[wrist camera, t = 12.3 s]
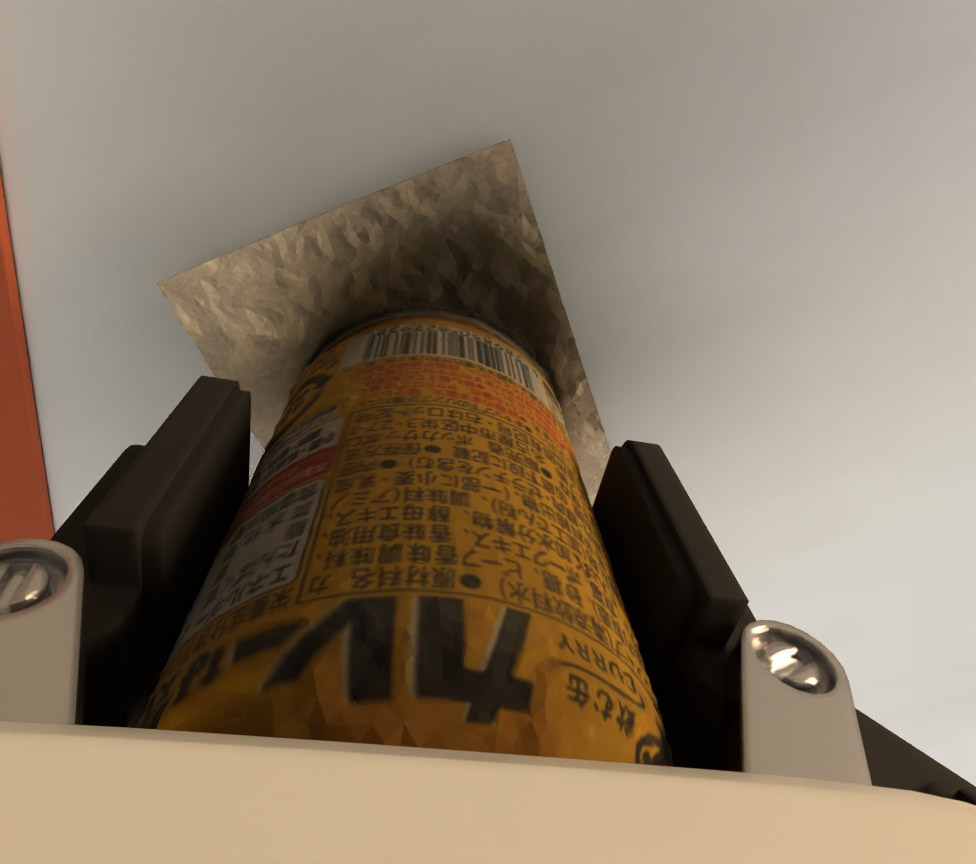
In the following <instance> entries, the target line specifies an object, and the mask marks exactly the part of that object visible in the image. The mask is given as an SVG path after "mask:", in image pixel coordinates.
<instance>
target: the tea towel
mask: <svg viewBox="0 0 976 864" xmlns="http://www.w3.org/2000/svg"><path fill="white" fill-rule="evenodd" d="M53 535H54V530H53V523H52V517H51V510H50V503H49V497H48V490H47V483H46V477H45V470H44V463H43V456H42V450H41V443H40V436H39V430H38V423H37V416H36V410H35V403H34V396H33V389H32V383H31V376H30V369H29V363H28V356H27V349H26V343H25V336H24V329H23V323H22V316H21V309H20V302H19V296H18V289H17V282H16V276H15V269H14V262H13V256H12V249H11V242H10V236H9V229H8V222H7V215H6V209H5V202H4V195H3V189H2V182H1V175H0V542H4V541H9V540H15V539H44V540H50V539H51V538H52V537H53Z"/></svg>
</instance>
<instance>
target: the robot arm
mask: <svg viewBox="0 0 976 864" xmlns="http://www.w3.org/2000/svg"><path fill="white" fill-rule="evenodd" d="M250 425H251V393H250V391H244V390H240V385H239V382H238V381H235V380H228V379H222V378H215V377H208V376H201V377H200V378H199V379H198V380H197V381H196V382H195V384H194V385H193V386H192V387H191V389H190V390H189V391H188V393H187V394H186V395H185V396H184V398H183V399H182V400H181V401H180V403H179V404H178V405H177V406H176V408H175V409H174V410H173V411H172V413H171V414H170V415H169V417H168V418H167V419H166V420H165V422H164V423H163V424H162V425H161V427H160V428H159V429H158V430H157V432H156V433H155V434H154V435H153V437H152V438H151V439H150V440H149V442H148V443H147V444H146V446H143V445H130V446H129V447H128V448H127V449H126V450H125V451H124V452H123V453H122V454H121V455H120V457H119V458H118V459H117V460H116V461H115V463H114V464H113V465H112V466H111V467H110V469H109V470H108V471H107V472H106V473H105V475H104V476H103V477H102V478H101V479H100V481H99V482H98V483H97V484H96V485H95V486H94V488H93V489H92V490H91V491H90V492H89V494H88V495H87V496H86V497H85V498H84V500H83V501H82V502H81V503H80V504H79V506H78V507H77V508H76V509H75V510H74V512H73V513H72V514H71V515H70V516H69V518H68V519H67V520H66V521H65V522H64V524H63V525H62V526H61V527H60V528H59V530H58V531H57V532H56V533H55V534H54V535H53V537H52V538H51V539H50V540H44V539H15V540H9V541H4V542H0V864H976V787H975V786H974V785H972V784H971V783H969V782H968V781H966V780H964V779H963V778H961V777H960V776H958V775H957V774H955V773H954V772H952V771H951V770H949V769H948V768H946V767H945V766H943V765H941V764H940V763H938V762H937V761H935V760H934V759H932V758H931V757H929V756H928V755H926V754H925V753H923V752H922V751H920V750H918V749H917V748H915V747H914V746H912V745H911V744H909V743H908V742H906V741H905V740H903V739H902V738H900V737H899V736H897V735H895V734H894V733H892V732H891V731H889V730H888V729H886V728H885V727H883V726H882V725H880V724H879V723H877V722H876V721H874V720H872V719H871V718H869V717H868V716H866V715H865V714H863V713H862V712H860V711H859V710H857V709H856V708H855V707H854V702H853V698H852V693H851V689H850V684H849V680H848V678H847V675H846V673H845V670H844V668H843V666H842V665H841V664H840V662H839V661H838V660H837V658H836V657H835V656H834V654H833V653H831V652H830V651H829V650H828V649H827V648H826V647H825V646H824V645H823V644H822V643H821V642H819V641H818V640H816V639H815V638H813V637H812V636H810V635H809V634H807V633H806V632H804V631H802V630H799V629H797V628H795V627H793V626H791V625H788V624H785V623H781V622H777V621H771V620H759V621H756V619H755V617H754V616H753V614H752V612H751V610H750V609H749V607H748V605H747V604H748V602H749V601H748V599H747V597H746V595H745V594H744V592H743V590H742V588H741V587H740V585H739V583H738V581H737V580H736V578H735V576H734V574H733V573H732V571H731V569H730V567H729V566H728V564H727V562H726V560H725V559H724V557H723V555H722V553H721V552H720V550H719V548H718V546H717V545H716V543H715V541H714V539H713V538H712V536H711V534H710V532H709V531H708V529H707V527H706V525H705V524H704V522H703V520H702V518H701V517H700V515H699V513H698V511H697V510H696V508H695V506H694V505H693V503H692V501H691V499H690V498H689V496H688V494H687V492H686V491H685V489H684V487H683V485H682V484H681V482H680V480H679V478H678V477H677V475H676V473H675V471H674V470H673V468H672V466H671V464H670V463H669V461H668V459H667V457H666V456H665V454H664V452H663V450H662V449H661V447H660V446H659V445H657V444H651V443H644V442H637V441H631V440H627V441H626V442H625V443H624V444H623V445H622V447H618V446H615V447H614V448H613V450H612V452H611V454H610V457H609V460H608V463H607V465H606V468H605V471H604V474H603V477H602V480H601V483H600V486H599V489H598V492H597V495H596V498H595V501H594V504H593V506H592V509H593V513H594V517H595V520H596V522H597V525H598V528H599V531H600V534H601V537H602V541H603V544H604V547H605V549H606V551H607V554H608V556H609V560H610V562H611V567H612V571H613V575H614V578H615V581H616V584H617V586H618V588H619V592H620V596H621V598H622V601H623V604H624V607H625V611H626V613H627V615H628V618H629V621H630V623H631V626H632V629H633V631H634V634H635V638H636V640H637V641H638V645H639V652H640V655H641V657H642V660H643V663H644V667H645V672H646V674H647V676H648V677H649V682H650V684H651V689H652V692H653V694H654V695H655V697H656V699H657V706H658V708H659V711H660V714H661V716H662V721H663V725H664V728H665V733H666V735H665V737H666V740H667V742H668V744H669V746H670V748H671V753H672V760H673V764H674V767H669V766H656V765H644V764H631V763H618V762H606V761H593V760H580V759H567V758H554V757H540V756H527V755H513V754H500V753H486V752H473V751H459V750H445V749H431V748H418V747H404V746H390V745H376V744H362V743H348V742H334V741H319V740H304V739H289V738H275V737H260V736H245V735H230V734H215V733H200V732H186V731H171V730H156V729H141V728H136V726H137V724H138V722H139V720H140V718H141V717H142V716H143V714H144V712H145V710H146V708H147V705H148V701H149V698H150V696H151V694H152V693H153V692H154V690H155V688H156V686H157V684H158V682H159V678H160V674H161V672H162V671H163V669H164V668H165V665H166V663H167V661H168V658H169V656H170V653H171V651H172V649H173V648H174V646H175V644H176V641H177V639H178V637H179V635H180V633H181V630H182V627H183V625H184V622H185V620H186V617H187V615H188V613H189V611H190V610H191V609H192V605H193V603H194V601H195V599H196V598H197V596H198V593H199V591H200V590H201V588H202V585H203V583H204V581H205V578H206V576H207V574H208V572H209V570H210V569H211V567H212V564H213V561H214V559H215V557H216V556H217V551H218V549H219V547H220V545H221V543H222V542H223V540H224V539H225V537H226V534H227V531H228V530H229V528H230V526H231V524H232V521H233V519H234V518H235V516H236V514H237V512H238V509H239V508H240V505H241V503H242V500H243V498H244V495H245V493H246V491H247V490H248V487H249V458H250Z"/></svg>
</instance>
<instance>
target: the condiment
mask: <svg viewBox="0 0 976 864" xmlns="http://www.w3.org/2000/svg"><path fill="white" fill-rule="evenodd" d="M157 284H158V286H159V288H160V289H161V291H162V292H163V294H164V295H165V297H166V298H167V300H168V301H169V303H170V305H171V306H172V308H173V310H174V312H175V314H176V316H177V317H178V319H179V320H180V322H181V323H182V325H183V327H184V328H185V329H186V331H187V332H188V333H189V335H190V336H191V338H192V339H193V340H194V341H195V343H196V344H197V346H198V348H199V349H200V351H201V352H202V354H203V356H204V358H205V360H206V362H207V364H208V366H209V367H210V369H211V371H212V372H213V374H214V375H215V376H216V378H222V379H228V380H235V381H238V382H239V385H240V390H244V391H250V393H251V425H250V428H251V430H252V432H253V434H254V435H255V436H256V438H257V439H258V440H259V442H260V443H261V445H262V446H263V448H264V449H265V453H264V454H263V455H262V457H261V459H260V461H259V464H258V465H257V468H256V470H255V472H254V475H253V477H252V479H251V483H250V486H249V487H248V490H247V491H246V493H245V495H244V498H243V500H242V503H241V505H240V508H239V509H238V512H237V514H236V516H235V518H234V519H233V521H232V524H231V526H230V528H229V530H228V531H227V534H226V537H225V539H224V540H223V542H222V543H221V545H220V547H219V549H218V551H217V556H216V557H215V559H214V561H213V564H212V567H211V569H210V570H209V572H208V574H207V576H206V578H205V581H204V583H203V585H202V588H201V590H200V591H199V593H198V596H197V598H196V599H195V601H194V603H193V605H192V609H191V610H190V611H189V613H188V615H187V617H186V620H185V622H184V625H183V627H182V630H181V633H180V635H179V637H178V639H177V641H176V644H175V646H174V648H173V649H172V651H171V653H170V656H169V658H168V661H167V663H166V665H165V668H164V669H163V671H162V672H161V674H160V678H159V682H158V684H157V686H156V688H155V690H154V692H153V693H152V694H151V696H150V698H149V701H148V705H147V708H146V710H145V712H144V714H143V716H142V717H141V718H140V720H139V722H138V724H137V726H136V728H141V729H156V730H171V731H186V732H200V733H215V734H230V735H245V736H260V737H275V738H289V739H304V740H319V741H334V742H348V743H362V744H376V745H390V746H404V747H418V748H431V749H445V750H459V751H473V752H486V753H500V754H513V755H527V756H540V757H554V758H567V759H580V760H593V761H606V762H618V763H631V764H644V765H656V766H669V767H674V764H673V760H672V753H671V748H670V746H669V744H668V742H667V740H666V737H665V735H666V733H665V728H664V725H663V721H662V716H661V714H660V711H659V708H658V706H657V699H656V697H655V695H654V694H653V692H652V689H651V684H650V682H649V677H648V676H647V674H646V672H645V667H644V663H643V660H642V657H641V655H640V652H639V645H638V641H637V640H636V638H635V634H634V631H633V629H632V626H631V623H630V621H629V618H628V615H627V613H626V611H625V607H624V604H623V601H622V598H621V596H620V592H619V588H618V586H617V584H616V581H615V578H614V575H613V571H612V567H611V562H610V560H609V556H608V554H607V551H606V549H605V547H604V544H603V541H602V537H601V534H600V531H599V528H598V525H597V522H596V520H595V517H594V513H593V509H592V506H593V504H594V501H595V498H596V495H597V492H598V489H599V486H600V483H601V480H602V477H603V474H604V471H605V468H606V465H607V463H608V460H609V457H610V454H611V452H610V449H609V446H608V443H607V440H606V437H605V434H604V430H603V427H602V424H601V421H600V418H599V415H598V412H597V409H596V406H595V403H594V400H593V396H592V393H591V390H590V387H589V384H588V381H587V377H586V374H585V372H584V369H583V365H582V362H581V359H580V356H579V353H578V350H577V346H576V343H575V339H574V337H573V334H572V331H571V328H570V324H569V321H568V318H567V315H566V312H565V308H564V306H563V304H562V301H561V297H560V293H559V290H558V287H557V284H556V281H555V278H554V274H553V271H552V268H551V265H550V263H549V260H548V257H547V253H546V250H545V246H544V243H543V240H542V237H541V235H540V232H539V229H538V225H537V222H536V219H535V216H534V213H533V210H532V207H531V204H530V200H529V197H528V193H527V190H526V187H525V184H524V181H523V178H522V175H521V172H520V169H519V166H518V163H517V160H516V157H515V154H514V150H513V147H512V144H511V141H510V139H509V140H506V141H503V142H500V143H498V144H495V145H493V146H490V147H488V148H485V149H483V150H480V151H478V152H476V153H473V154H471V155H470V156H467V157H463V158H460V159H457V160H455V161H452V162H450V163H447V164H445V165H443V166H440V167H438V168H435V169H433V170H430V171H428V172H425V173H423V174H420V175H418V176H415V177H413V178H410V179H408V180H406V181H403V182H401V183H399V184H397V185H394V186H392V187H389V188H386V189H383V190H380V191H377V192H375V193H373V194H371V195H368V196H366V197H363V198H361V199H359V200H357V201H354V202H351V203H349V204H346V205H344V206H341V207H339V208H337V209H334V210H332V211H329V212H327V213H324V214H322V215H320V216H317V217H315V218H312V219H310V220H307V221H304V222H300V223H298V224H295V225H293V226H291V227H289V228H287V229H285V230H283V231H280V232H278V233H276V234H273V235H271V236H269V237H266V238H264V239H263V240H260V241H257V242H254V243H252V244H249V245H247V246H244V247H242V248H239V249H237V250H234V251H232V252H229V253H227V254H224V255H222V256H219V257H217V258H215V259H213V260H211V261H208V262H205V263H203V264H201V265H198V266H196V267H193V268H191V269H189V270H186V271H184V272H181V273H179V274H176V275H174V276H172V277H169V278H167V279H164V280H162V281H159V282H157Z"/></svg>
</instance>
